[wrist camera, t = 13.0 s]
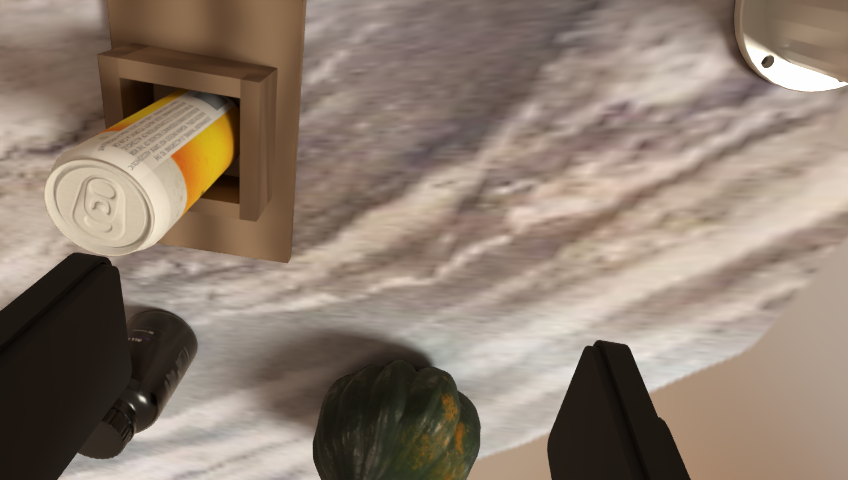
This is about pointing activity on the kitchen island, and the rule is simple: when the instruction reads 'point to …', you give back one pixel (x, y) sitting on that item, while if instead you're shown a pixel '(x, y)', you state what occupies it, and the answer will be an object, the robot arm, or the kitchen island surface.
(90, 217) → the beer can
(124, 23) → the can caddy
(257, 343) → the kitchen island surface
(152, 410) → the supplement bottle
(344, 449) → the squash
